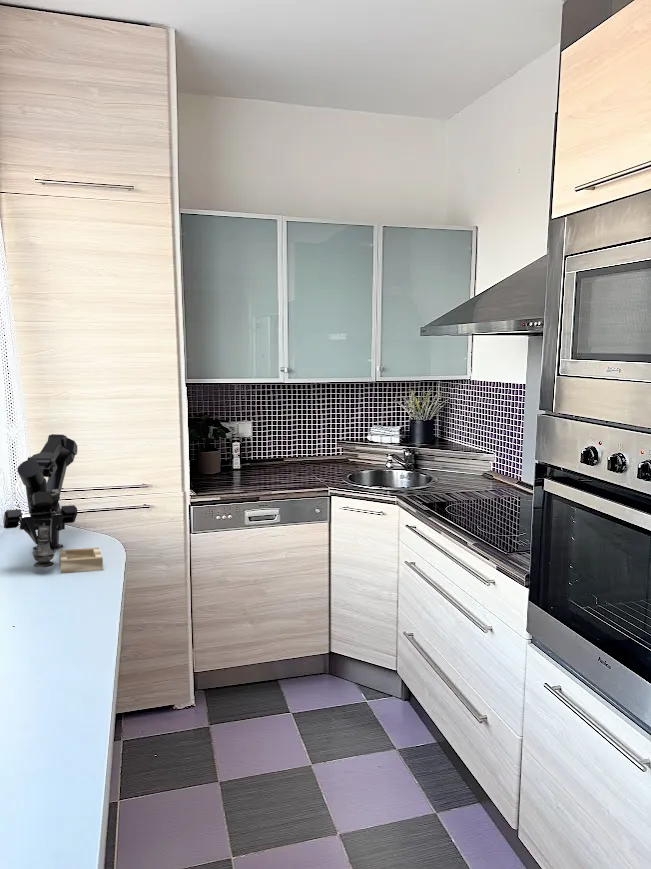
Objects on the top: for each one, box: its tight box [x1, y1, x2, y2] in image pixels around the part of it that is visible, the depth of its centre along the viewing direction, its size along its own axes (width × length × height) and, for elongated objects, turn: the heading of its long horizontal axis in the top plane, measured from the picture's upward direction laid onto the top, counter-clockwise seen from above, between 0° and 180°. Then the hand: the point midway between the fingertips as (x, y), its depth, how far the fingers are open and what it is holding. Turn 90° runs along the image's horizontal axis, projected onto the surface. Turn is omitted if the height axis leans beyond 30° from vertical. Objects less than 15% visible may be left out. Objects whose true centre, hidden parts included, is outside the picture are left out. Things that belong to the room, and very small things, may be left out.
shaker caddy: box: [58, 547, 104, 574], centre depth 190 cm, size 11×11×4 cm
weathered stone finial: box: [31, 523, 56, 569], centre depth 183 cm, size 6×6×12 cm
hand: (44, 542), depth 181 cm, fingers closed on weathered stone finial, 4 cm apart
